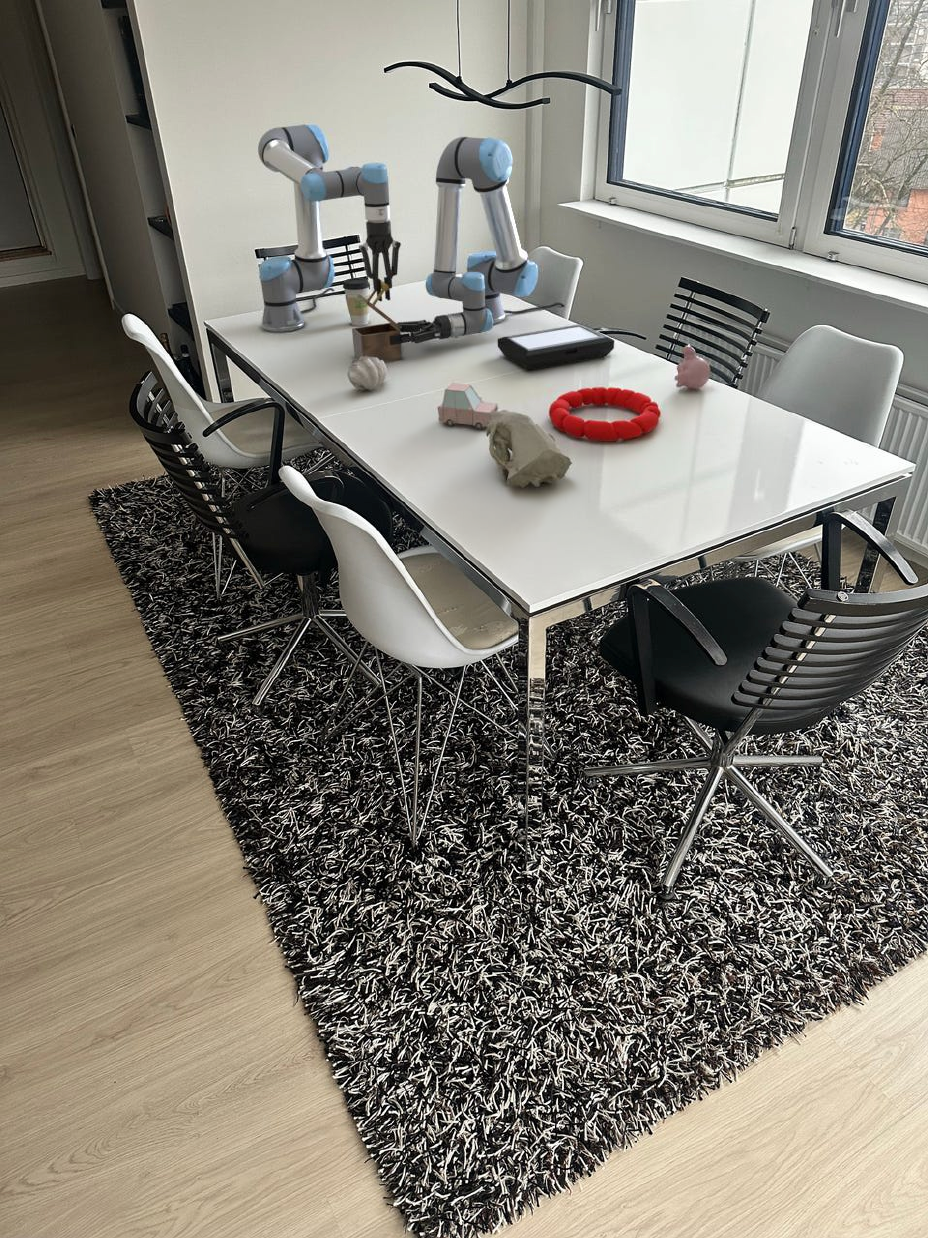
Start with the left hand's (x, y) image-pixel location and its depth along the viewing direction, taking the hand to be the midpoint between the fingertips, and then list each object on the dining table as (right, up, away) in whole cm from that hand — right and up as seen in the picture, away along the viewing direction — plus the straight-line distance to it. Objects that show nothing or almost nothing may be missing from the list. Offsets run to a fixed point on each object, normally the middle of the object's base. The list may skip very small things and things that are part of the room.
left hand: (383, 299), depth 284 cm
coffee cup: (-13, +6, +43) cm, 45 cm away
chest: (-3, -16, +9) cm, 19 cm away
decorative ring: (+64, -48, -41) cm, 90 cm away
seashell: (-3, -33, -15) cm, 36 cm away
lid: (-2, -4, +2) cm, 5 cm away
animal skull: (+40, -65, -64) cm, 100 cm away
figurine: (+92, -34, -22) cm, 101 cm away
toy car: (+27, -48, -39) cm, 67 cm away
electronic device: (+55, -17, +6) cm, 58 cm away
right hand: (0, -10, +6) cm, 12 cm away
